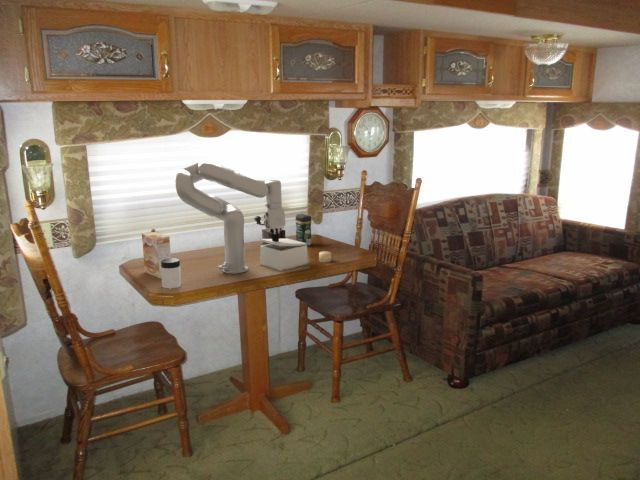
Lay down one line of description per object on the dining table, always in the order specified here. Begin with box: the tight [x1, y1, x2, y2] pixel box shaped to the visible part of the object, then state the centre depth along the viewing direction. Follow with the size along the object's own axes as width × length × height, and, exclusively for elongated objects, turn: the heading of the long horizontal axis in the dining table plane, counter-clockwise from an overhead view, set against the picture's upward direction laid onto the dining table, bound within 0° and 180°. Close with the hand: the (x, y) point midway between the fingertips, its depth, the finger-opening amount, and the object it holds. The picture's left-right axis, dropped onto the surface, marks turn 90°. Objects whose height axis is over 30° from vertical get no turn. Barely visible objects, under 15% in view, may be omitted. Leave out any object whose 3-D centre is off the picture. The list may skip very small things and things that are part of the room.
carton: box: [259, 244, 308, 272], centre depth 276 cm, size 18×16×10 cm
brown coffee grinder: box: [253, 215, 287, 246], centre depth 315 cm, size 16×11×18 cm
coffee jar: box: [295, 213, 312, 247], centre depth 317 cm, size 10×8×19 cm
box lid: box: [259, 237, 308, 246], centre depth 275 cm, size 19×16×1 cm
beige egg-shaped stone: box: [318, 251, 332, 264], centre depth 284 cm, size 6×6×4 cm
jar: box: [161, 257, 182, 290], centre depth 242 cm, size 9×8×12 cm
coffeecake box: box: [141, 231, 172, 279], centre depth 260 cm, size 15×7×20 cm, turn 45°
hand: (275, 241), depth 271 cm, fingers closed
